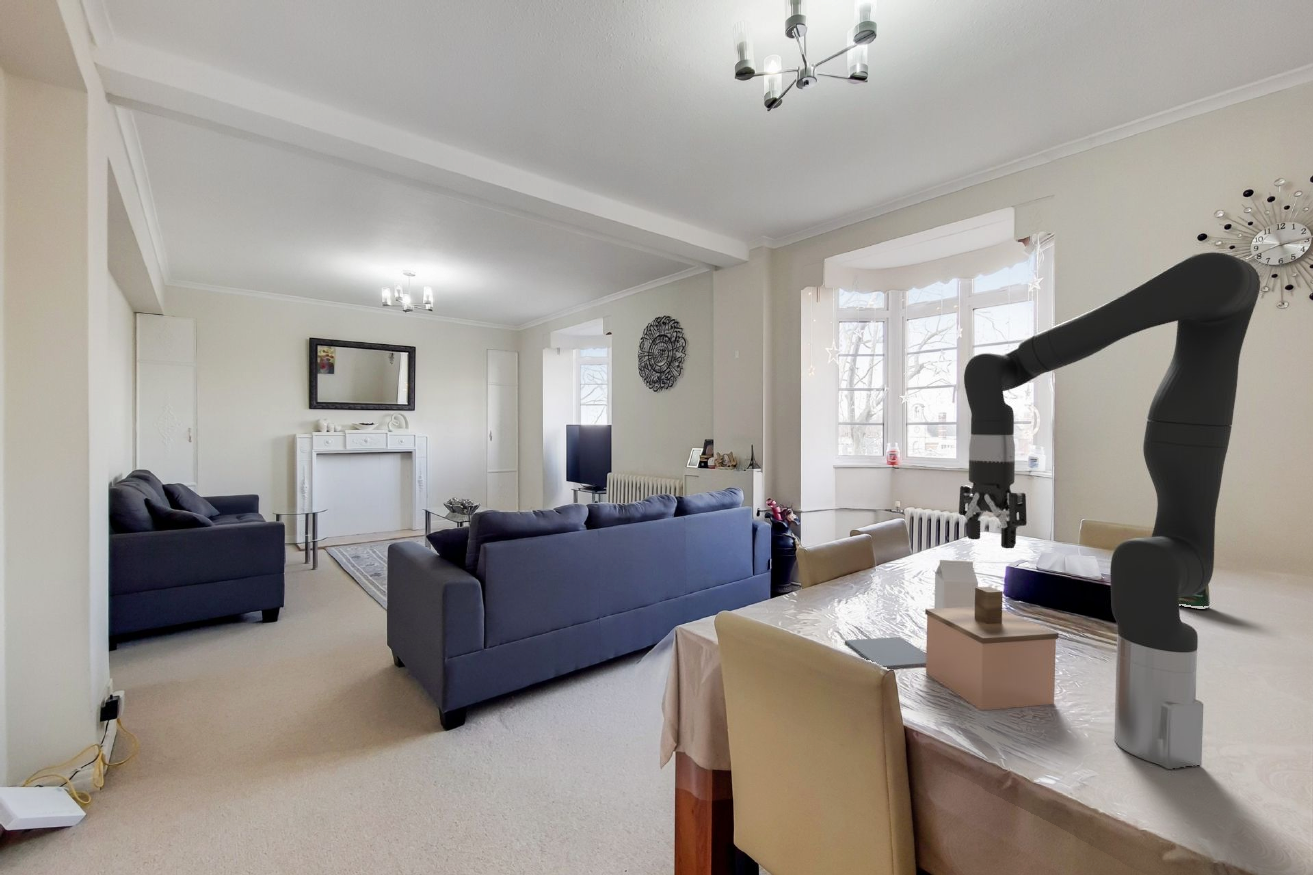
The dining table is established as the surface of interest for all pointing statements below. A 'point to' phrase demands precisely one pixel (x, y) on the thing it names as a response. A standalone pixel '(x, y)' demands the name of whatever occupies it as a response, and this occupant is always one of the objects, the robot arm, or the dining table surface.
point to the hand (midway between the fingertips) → (990, 543)
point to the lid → (990, 620)
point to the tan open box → (991, 668)
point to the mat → (889, 652)
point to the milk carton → (955, 584)
